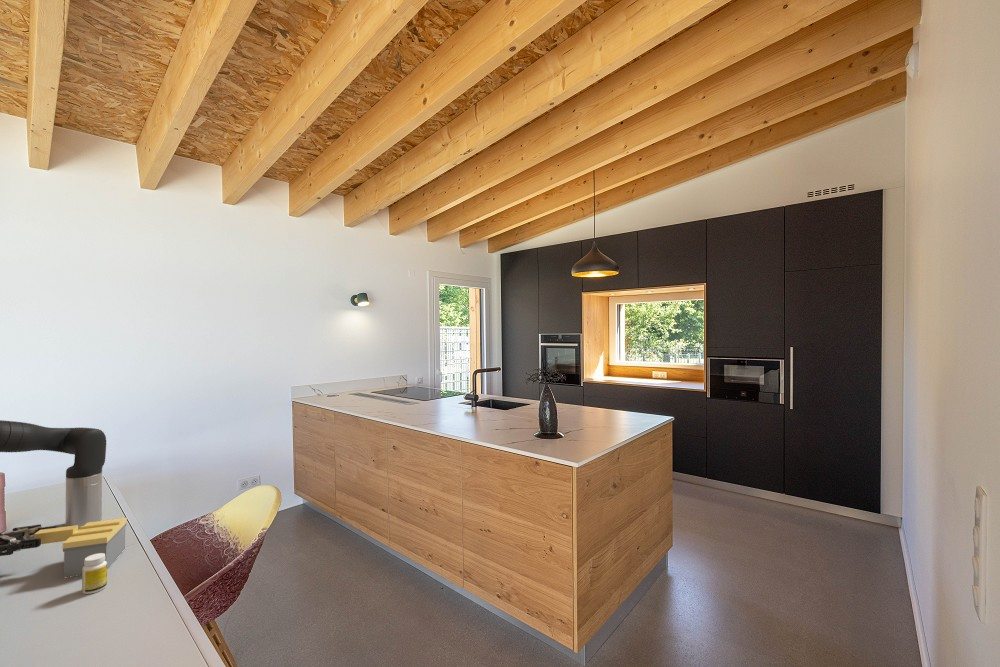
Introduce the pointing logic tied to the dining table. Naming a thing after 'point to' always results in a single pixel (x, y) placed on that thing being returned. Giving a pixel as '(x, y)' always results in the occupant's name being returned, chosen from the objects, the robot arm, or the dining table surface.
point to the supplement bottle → (94, 573)
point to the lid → (82, 533)
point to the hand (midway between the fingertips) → (48, 535)
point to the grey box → (78, 554)
